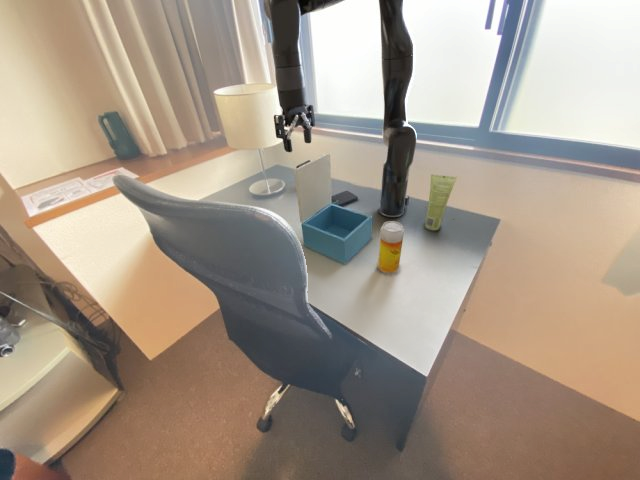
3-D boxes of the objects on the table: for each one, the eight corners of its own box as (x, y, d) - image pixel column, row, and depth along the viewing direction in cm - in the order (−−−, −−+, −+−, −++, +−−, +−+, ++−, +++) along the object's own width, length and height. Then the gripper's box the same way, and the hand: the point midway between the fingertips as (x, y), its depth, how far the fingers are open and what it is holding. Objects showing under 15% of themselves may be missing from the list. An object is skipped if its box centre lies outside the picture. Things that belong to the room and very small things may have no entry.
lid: (330, 152, 86) (317, 150, 89) (296, 170, 76) (283, 166, 79) (331, 202, 97) (320, 198, 99) (301, 222, 87) (290, 218, 90)
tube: (434, 221, 99) (445, 170, 88) (444, 228, 96) (457, 176, 84) (421, 225, 98) (431, 174, 86) (430, 232, 94) (442, 180, 83)
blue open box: (371, 238, 94) (372, 216, 88) (344, 264, 84) (344, 241, 79) (331, 224, 103) (330, 203, 97) (304, 245, 93) (301, 223, 88)
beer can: (398, 275, 78) (405, 233, 69) (377, 273, 80) (380, 232, 71) (398, 262, 83) (403, 220, 74) (377, 260, 84) (381, 219, 75)
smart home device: (308, 204, 113) (346, 189, 121) (308, 207, 114) (346, 193, 122) (319, 212, 107) (358, 196, 115) (319, 215, 108) (358, 200, 116)
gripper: (298, 81, 78) (305, 138, 88) (261, 90, 70) (273, 152, 79) (318, 81, 74) (323, 141, 84) (282, 91, 66) (291, 157, 75)
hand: (298, 147), depth 82 cm, fingers open, 8 cm apart
